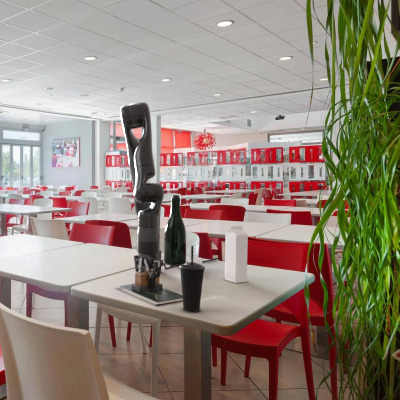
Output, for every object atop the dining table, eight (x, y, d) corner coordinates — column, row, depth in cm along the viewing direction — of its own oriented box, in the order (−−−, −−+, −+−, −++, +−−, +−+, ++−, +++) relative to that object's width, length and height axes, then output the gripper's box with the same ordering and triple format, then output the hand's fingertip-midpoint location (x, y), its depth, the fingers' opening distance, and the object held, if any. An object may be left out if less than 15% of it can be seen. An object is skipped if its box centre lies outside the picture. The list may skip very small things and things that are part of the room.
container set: (190, 268, 190) (190, 256, 189) (202, 269, 188) (202, 257, 187) (181, 278, 172) (181, 264, 171) (194, 279, 169) (194, 266, 169)
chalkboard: (147, 284, 161) (147, 281, 161) (190, 300, 140) (190, 297, 140) (116, 288, 155) (116, 285, 155) (157, 306, 134) (157, 303, 134)
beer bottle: (159, 263, 202) (160, 194, 201) (172, 260, 209) (172, 194, 208) (177, 266, 195) (178, 195, 193) (190, 263, 202) (191, 194, 200)
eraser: (154, 286, 154) (154, 270, 154) (162, 289, 150) (162, 273, 150) (131, 289, 150) (131, 272, 149) (139, 293, 145) (139, 275, 145)
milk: (246, 281, 166) (248, 226, 165) (235, 283, 164) (236, 227, 163) (235, 278, 172) (237, 224, 171) (223, 279, 169) (225, 225, 168)
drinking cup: (175, 306, 133) (176, 244, 132) (198, 306, 134) (199, 243, 133) (183, 314, 126) (184, 247, 125) (208, 313, 126) (209, 247, 125)
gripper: (169, 241, 144) (168, 290, 145) (144, 236, 157) (143, 281, 158) (151, 243, 141) (150, 293, 142) (127, 237, 153) (127, 283, 155)
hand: (147, 286), depth 150 cm, fingers closed on eraser, 5 cm apart
